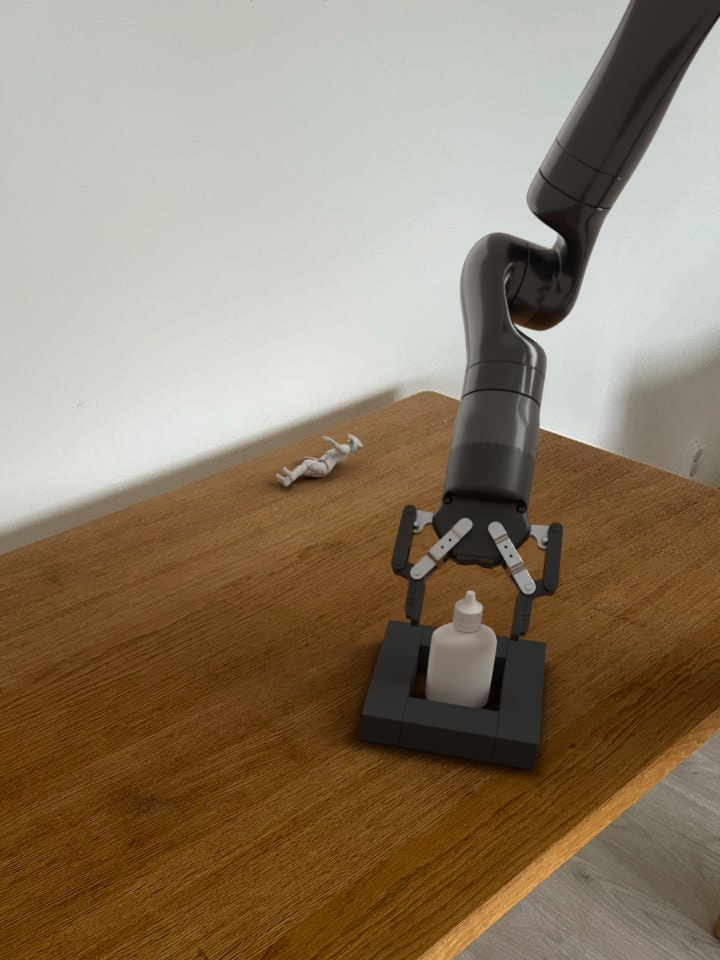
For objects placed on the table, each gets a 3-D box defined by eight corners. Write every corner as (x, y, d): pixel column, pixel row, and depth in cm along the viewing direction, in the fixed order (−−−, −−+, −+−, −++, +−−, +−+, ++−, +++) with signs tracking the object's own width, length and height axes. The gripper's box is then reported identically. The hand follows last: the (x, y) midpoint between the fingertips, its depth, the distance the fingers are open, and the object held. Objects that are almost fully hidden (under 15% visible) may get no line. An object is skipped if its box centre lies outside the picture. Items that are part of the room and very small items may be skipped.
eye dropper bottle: (433, 679, 97) (447, 572, 90) (491, 696, 94) (510, 587, 87) (418, 706, 93) (431, 597, 86) (478, 723, 91) (496, 613, 84)
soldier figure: (266, 483, 132) (327, 430, 136) (291, 511, 132) (351, 458, 136) (287, 463, 125) (350, 408, 129) (312, 493, 125) (375, 437, 129)
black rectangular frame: (541, 667, 98) (546, 642, 96) (533, 770, 86) (538, 744, 84) (386, 643, 101) (389, 619, 100) (359, 740, 90) (361, 714, 88)
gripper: (409, 430, 88) (378, 612, 86) (580, 447, 84) (553, 637, 82) (413, 460, 95) (385, 628, 93) (571, 477, 92) (545, 652, 90)
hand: (464, 632), depth 88 cm, fingers open, 8 cm apart
